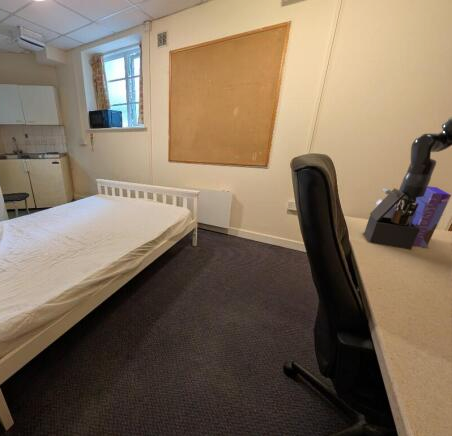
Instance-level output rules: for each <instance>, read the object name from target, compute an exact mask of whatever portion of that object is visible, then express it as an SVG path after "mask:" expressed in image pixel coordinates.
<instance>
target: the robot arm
mask: <svg viewBox="0 0 452 436" xmlns="http://www.w3.org/2000/svg"><path fill="white" fill-rule="evenodd" d="M451 146H452V115H450V117H448V118H447V119H446V120H445V121H444V122H443V123H442V124H441V131H440V132H438V133H424V134H423V133H422V134H420V135H418V136H417V137H416V138H415V139H414V140H413V142H412V143H411V146H410V163H409V166H408V168H407V171H406V173H405V175H404V177H403V179H402V181H401V184H400V187H399V189H398V190H399V191H401V192H403V193H405V194H406V195H405V196H404V197H403V198H402V199H401V200H400V201H399V202H398V203H397V204H396V207H395V209H396V210H401V211H402V214H401V217H400V219H399V222H398V223H399V224H406V222H407V220H408V218H409V216H413V214H414V212H415V211H416V209H417V207H418V205H419V203H416V198H417V197H423V196H424V194H425V192H426V189H427V187H428V186H429V185H430V182H431V180H432V174H433V173H434V171H435V168H436V166H437V160H436V159H433V158H431V154H432V153H439V152H442V151H445V150H447V149H448V148H451ZM407 212H408V213H407Z"/></svg>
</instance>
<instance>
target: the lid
mask: <svg viewBox="0 0 452 436" xmlns="http://www.w3.org/2000/svg"><path fill="white" fill-rule="evenodd" d="M381 191H382V192H383V193H384V194H386V196H385V197H384V198H383V199H384V200H383V201H382V202H381V203H380V204H379V205H378V206H377V207H376V206H375V208H374V209H373V210H372V211H371V212H370V213H369V216H370V215H371V216H372V217H373V218H374V219H375V220H376V221H377V222H379V221H380V220H381V219H382V218H383V217H384V216H385V215H386V214H387V213H388V212H389V211H390V210H391V209H392V208H393V207H394V206H395V205H396V204H397V203H398V202H399V201H400V200H401V199H402V198H403V197H404V196H405V195H406V194H405V193H403V192H401V191H399V189H398V188H395V187H394V188H393V189H392V190H390V189H389V188H387V187H383V188H382V189H381Z"/></svg>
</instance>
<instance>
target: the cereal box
mask: <svg viewBox="0 0 452 436" xmlns="http://www.w3.org/2000/svg"><path fill="white" fill-rule="evenodd" d="M451 197H452V194H450V193H448V192H446V191H445V190H443V189H440V188H439V187H437V186H429V185H428V187H427V189H426V192H425V194H424V196H423V197H417V198H416V203H419V205H418V207H417V209H416V211H415V212H414V214H413V216H410V219H409V220H410V221H411V222H412V223H413V224H415V225H416V226H417V227H419V228H420V230H419V232H418V235H417V237H416V239H415V241H414V244H413V246H414V247H420V248H425V249H427V248H428V245H429V244H430V241H431V239H432V237H433V235H434V233H435V230H436V229H437V227H438V224H439V222H440V220H441V218H442V216H443V213H444V212H445V209H446V207H447V205H448V203H449V200H450V199H451Z"/></svg>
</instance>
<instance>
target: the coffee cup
mask: <svg viewBox="0 0 452 436" xmlns="http://www.w3.org/2000/svg"><path fill="white" fill-rule="evenodd" d="M384 199H385V198H379V199H378V200H377V201H376V202H375V208H376V207H377V206H378V205H379V204H380V203H381V202H382V201H383V200H384ZM395 207H396V205H395V206H394V207H393V208H392V209H391V210H390V211H389V212H388V213H387V214H386V215H385V216H384V217H388V218H392V217H393V214H394V211H395V210H396V209H395Z"/></svg>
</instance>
